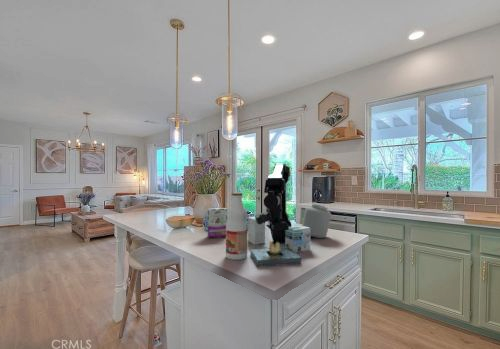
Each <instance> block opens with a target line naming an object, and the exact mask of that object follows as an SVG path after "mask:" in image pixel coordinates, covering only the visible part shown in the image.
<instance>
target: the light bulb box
mask: <svg viewBox="0 0 500 349" xmlns="http://www.w3.org/2000/svg"><path fill="white" fill-rule="evenodd" d="M310 230H311V228H309V227H306V226H303V225H302V224H301V225H294V226H293V225H292V227H289V230H285V243H284V245H285V246H284V248H285V247H289V248H290V249H291V250H293V251H294V252H295V253H301V252H307V251H310V250H311V236H310Z"/></svg>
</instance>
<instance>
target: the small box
mask: <svg viewBox="0 0 500 349" xmlns="http://www.w3.org/2000/svg"><path fill="white" fill-rule="evenodd" d="M247 217H248V218H247V219H248V220H247V242H250V243H252V244H253V245H261V244H265V243H266V222H265V223H262V224H260V225H259V224H258V223H257V222H256V219H255V216H247Z"/></svg>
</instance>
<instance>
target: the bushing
mask: <svg viewBox="0 0 500 349" xmlns="http://www.w3.org/2000/svg"><path fill="white" fill-rule="evenodd" d="M280 246H281V243H279V242H276V243H274V242H273V240H272V241H269V243H268V247H269V256H279V255H280V248H281V247H280Z"/></svg>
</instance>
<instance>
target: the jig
mask: <svg viewBox="0 0 500 349" xmlns="http://www.w3.org/2000/svg"><path fill="white" fill-rule="evenodd" d="M250 256H251V258H252V260H253V262H254V263H255V265H256V266H257V267H258V268H259V267H271V266H272V267H273V266H287V265H288V266H289V265H300V264H302V257H301V256H300V255H299V254H298V253H297V252H294V251H293V250H291V249H290V248H289V247H285V246H284V247H280V255H279V256H269V248H253V249H252V248H251V249H250Z"/></svg>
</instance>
